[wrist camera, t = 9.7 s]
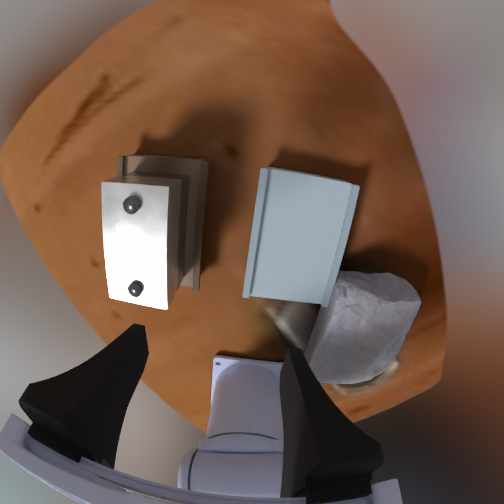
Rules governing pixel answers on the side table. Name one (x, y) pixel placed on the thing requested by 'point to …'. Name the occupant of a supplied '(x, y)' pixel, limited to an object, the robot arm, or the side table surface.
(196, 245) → the walnut stand
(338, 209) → the bluegrey stand
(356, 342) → the stone block
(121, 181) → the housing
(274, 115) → the side table surface
